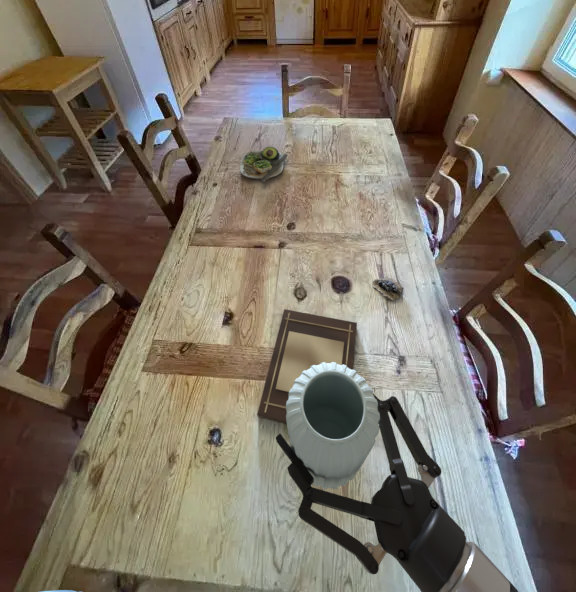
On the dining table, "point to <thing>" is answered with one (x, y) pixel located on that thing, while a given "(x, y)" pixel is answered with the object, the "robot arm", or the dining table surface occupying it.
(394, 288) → the brown flat lumpy piece
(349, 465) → the vase
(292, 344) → the picture frame
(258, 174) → the avocado toast plate
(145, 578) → the dining table surface
